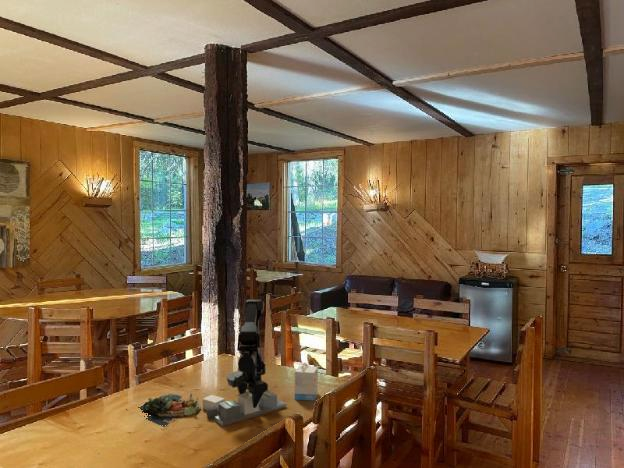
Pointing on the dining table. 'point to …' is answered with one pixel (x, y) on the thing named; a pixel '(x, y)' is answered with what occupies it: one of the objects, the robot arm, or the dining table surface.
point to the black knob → (212, 412)
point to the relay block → (212, 401)
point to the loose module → (247, 403)
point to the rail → (232, 413)
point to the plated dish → (169, 408)
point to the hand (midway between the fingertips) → (248, 403)
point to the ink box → (306, 382)
